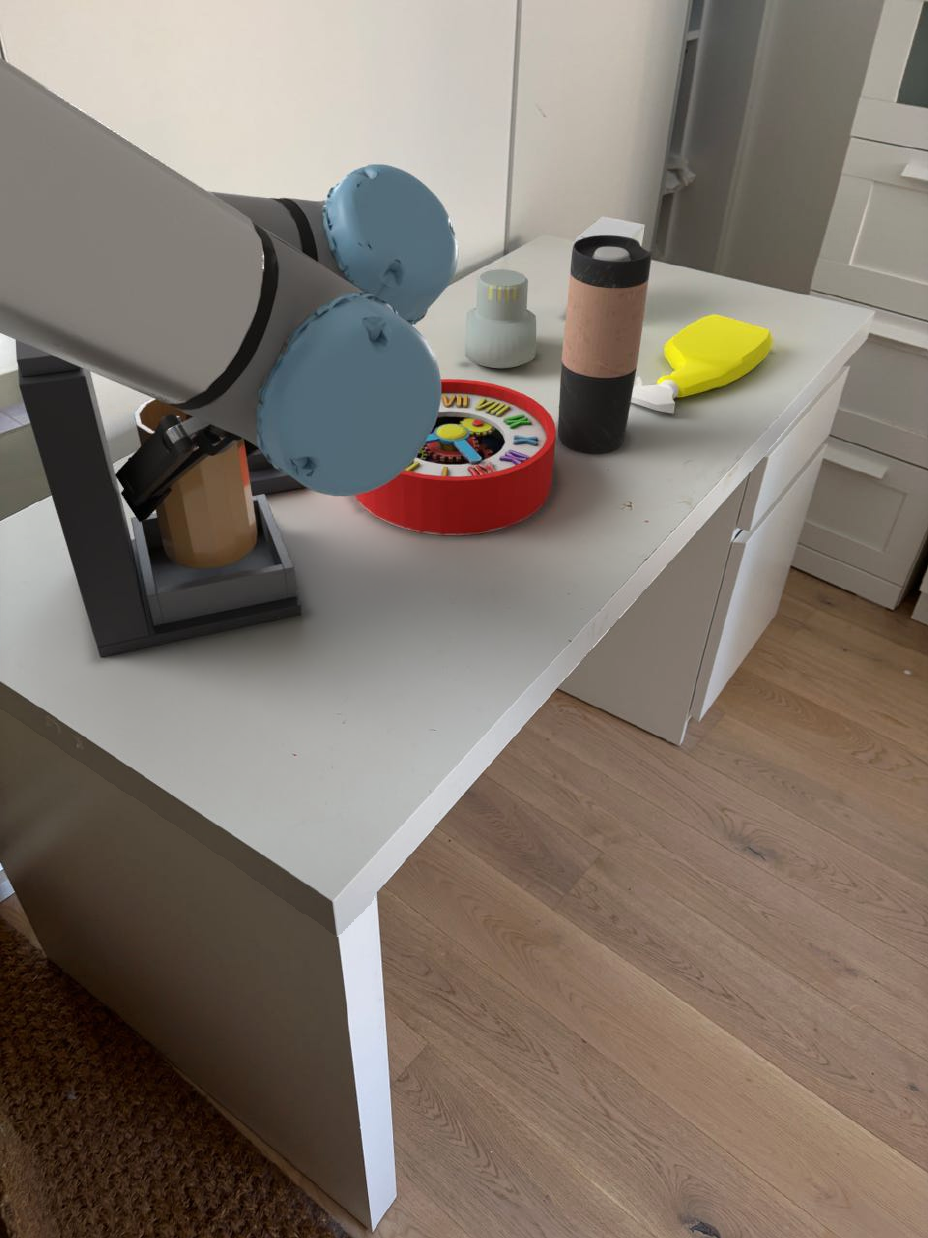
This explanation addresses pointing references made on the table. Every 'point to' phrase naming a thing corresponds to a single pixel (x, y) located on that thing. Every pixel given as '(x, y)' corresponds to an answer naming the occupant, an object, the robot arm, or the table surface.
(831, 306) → the table surface
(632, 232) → the cosmetics box
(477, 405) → the toy clock
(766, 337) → the spray bottle
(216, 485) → the cup
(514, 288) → the air freshener
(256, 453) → the switch block
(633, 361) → the travel mug
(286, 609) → the coffee maker
